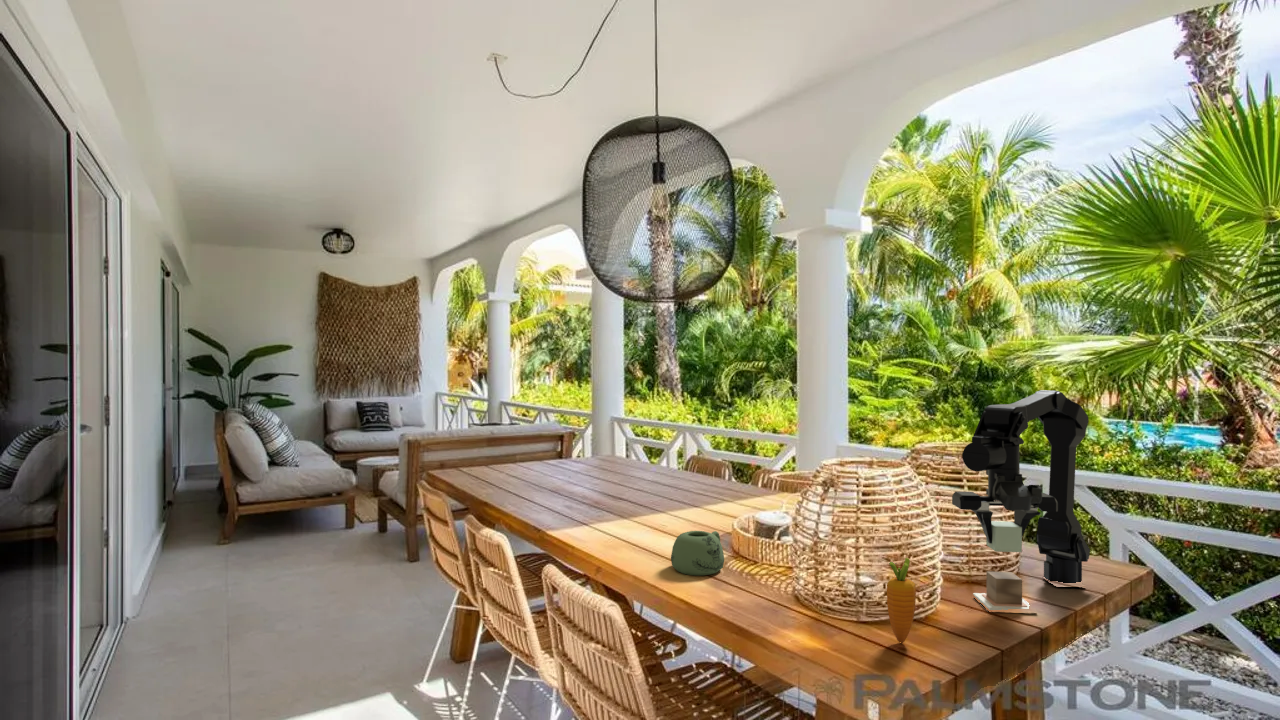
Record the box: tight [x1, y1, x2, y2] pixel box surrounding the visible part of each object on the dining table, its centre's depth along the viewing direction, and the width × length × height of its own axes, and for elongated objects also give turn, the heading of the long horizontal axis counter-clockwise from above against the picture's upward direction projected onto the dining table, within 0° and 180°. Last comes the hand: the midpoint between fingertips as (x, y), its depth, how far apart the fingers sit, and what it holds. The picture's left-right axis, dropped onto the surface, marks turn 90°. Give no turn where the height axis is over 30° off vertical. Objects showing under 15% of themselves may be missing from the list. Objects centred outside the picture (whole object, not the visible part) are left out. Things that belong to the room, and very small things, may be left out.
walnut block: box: [985, 570, 1023, 604], centre depth 146 cm, size 5×5×5 cm
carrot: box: [886, 557, 917, 644], centre depth 126 cm, size 5×5×15 cm
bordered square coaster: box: [972, 592, 1030, 610], centre depth 145 cm, size 9×9×1 cm
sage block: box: [985, 520, 1023, 553], centre depth 146 cm, size 5×5×5 cm
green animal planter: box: [670, 530, 725, 577], centre depth 172 cm, size 16×13×9 cm
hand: (1003, 543), depth 146 cm, fingers closed on sage block, 5 cm apart
